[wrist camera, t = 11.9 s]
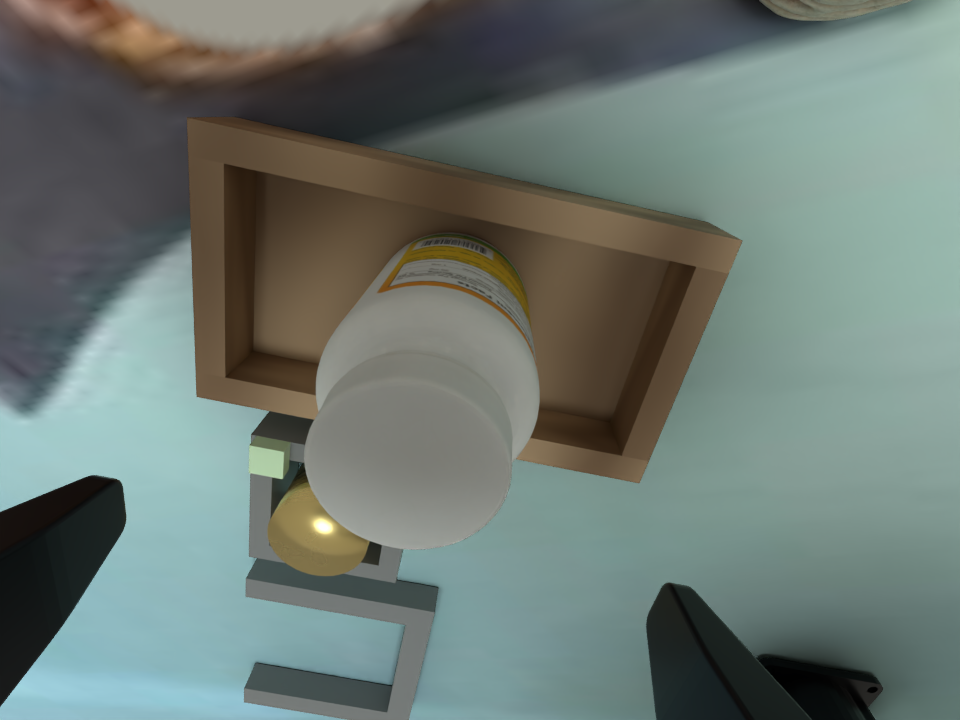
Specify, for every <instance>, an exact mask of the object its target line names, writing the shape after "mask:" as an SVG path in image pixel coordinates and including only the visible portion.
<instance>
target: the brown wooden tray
mask: <svg viewBox="0 0 960 720" xmlns="http://www.w3.org/2000/svg"><path fill="white" fill-rule="evenodd" d="M187 134H188V163H189V191H190V220H191V249H192V278H193V307H194V335H195V364H196V393H197V397H200V398H206V399H211V400H216V401H221V402H226V403H231V404H236V405H241V406H247V407H252V408H257V409H262V410H267V411H272V412H277V413H282V414H287V415H293V416H298V417H303V418H308V419H313V420H315V418H316V416H317V414H318V412H319V411H318V406H317V401H316V376H317V370H318V366H319V362H320V359H321V356H322V354H323V351H324V349H325V347H326V345H327V343H328V341H329V339H330V337H331V336H332V334H333V333H334V331H335V329H336V328H337V327H338V325H339V324H340V322H341V321H342V320H343V319H344V317H345V316H346V315H347V313H348V312H349V311H350V310H351V308H352V307H353V306H354V305H355V303H356V302H357V301H358V300H359V298H360V297H361V296H362V295H363V293H364V292H365V291H366V290H367V288H368V287H369V286H370V284H371V283H372V282H373V281H374V279H375V278H376V277H377V275H378V274H379V273H380V272H381V270H382V269H383V268H384V266H385V265H386V264H387V263H388V262H389V260H390V259H391V258H392V257H393V256H394V255H395V254H396V253H397V252H398V251H399V250H401V249H402V248H403V247H404V246H406V245H407V244H409V243H411V242H413V241H414V240H416V239H419V238H421V237H424V236H427V235H431V234H436V233H446V232H454V233H462V234H467V235H471V236H474V237H477V238H479V239H481V240H484V241H486V242H487V243H489V244H491V245H493V246H494V247H496V248H497V249H498V250H500V251H501V252H502V253H503V254H504V255H505V256H506V257H507V258H508V259H509V260H510V261H511V262H512V264H513V265H514V267H515V268H516V270H517V272H518V273H519V275H520V277H521V280H522V282H523V285H524V288H525V291H526V295H527V299H528V306H529V313H530V321H531V329H532V336H533V343H534V349H535V356H536V363H537V368H538V378H539V391H540V403H539V411H538V417H537V421H536V424H535V427H534V430H533V433H532V435H531V437H530V439H529V441H528V442H527V444H526V446H525V447H524V449H523V450H522V452H521V453H520V454H519V456H518V457H517V458H516V459H518V460H523V461H528V462H533V463H538V464H543V465H548V466H553V467H559V468H564V469H569V470H574V471H579V472H584V473H589V474H594V475H599V476H605V477H610V478H615V479H620V480H625V481H630V482H635V483H640V481H641V478H642V476H643V474H644V471H645V469H646V466H647V464H648V462H649V459H650V457H651V455H652V452H653V450H654V448H655V445H656V443H657V441H658V438H659V436H660V434H661V431H662V429H663V427H664V424H665V422H666V419H667V417H668V415H669V412H670V410H671V408H672V405H673V403H674V401H675V398H676V396H677V394H678V391H679V389H680V387H681V384H682V382H683V379H684V377H685V375H686V372H687V370H688V368H689V365H690V363H691V361H692V358H693V356H694V354H695V351H696V349H697V347H698V344H699V342H700V340H701V337H702V335H703V332H704V330H705V328H706V325H707V323H708V321H709V318H710V316H711V314H712V311H713V309H714V307H715V304H716V302H717V300H718V297H719V295H720V293H721V290H722V288H723V285H724V283H725V281H726V278H727V276H728V274H729V271H730V269H731V267H732V264H733V262H734V260H735V257H736V255H737V253H738V250H739V248H740V246H741V243H742V240H740V239H738V238H736V237H734V236H733V235H731V234H729V233H727V232H725V231H723V230H721V229H719V228H718V227H716V226H714V225H712V224H710V223H708V222H704V221H699V220H695V219H690V218H686V217H681V216H677V215H672V214H668V213H663V212H659V211H654V210H650V209H645V208H641V207H636V206H632V205H627V204H623V203H618V202H614V201H609V200H605V199H600V198H596V197H591V196H587V195H582V194H578V193H573V192H569V191H564V190H560V189H556V188H551V187H547V186H542V185H538V184H533V183H529V182H524V181H520V180H515V179H511V178H506V177H502V176H497V175H493V174H488V173H484V172H479V171H475V170H470V169H466V168H461V167H457V166H452V165H448V164H443V163H439V162H434V161H430V160H425V159H421V158H416V157H412V156H407V155H403V154H399V153H394V152H390V151H385V150H381V149H376V148H372V147H367V146H363V145H358V144H354V143H349V142H345V141H340V140H336V139H331V138H327V137H322V136H318V135H313V134H309V133H304V132H300V131H295V130H291V129H286V128H282V127H277V126H273V125H268V124H264V123H259V122H255V121H250V120H246V119H242V118H237V117H191V118H187Z"/></svg>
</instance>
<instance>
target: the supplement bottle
mask: <svg viewBox="0 0 960 720" xmlns="http://www.w3.org/2000/svg"><path fill="white" fill-rule="evenodd" d="M316 401H317V406H318V411H319V412H318V414H317V416H316V418H315V420H314V421H313V423H312V425H311V427H310V429H309V433H308V436H307V440H306V443H305V450H304V463H305V470H306V475H307V478H308V481H309V484H310V487H311V489H312V491H313V493H314V495H315V496H316V498H317V500H318V501H319V503H320V504H321V505H322V507H323V508H324V509H325V510H326V512H327V513H328V514H329V515H330V516H331V517H332V518H333V519H334V520H335V521H337V522H338V523H339V524H340V525H342V526H343V527H345V528H346V529H347V530H349V531H350V532H352V533H354V534H356V535H358V536H359V537H362V538H364V539H366V540H369V541H371V542H374V543H377V544H380V545H384V546H388V547H393V548H399V549H411V550H418V549H430V548H438V547H443V546H447V545H451V544H454V543H456V542H459V541H461V540H464V539H466V538H468V537H469V536H471V535H473V534H474V533H476V532H477V531H479V530H480V529H481V528H483V527H484V526H485V525H486V524H487V523H488V522H489V521H490V520H491V519H492V518H493V517H494V516H495V515H496V513H497V512H498V511H499V509H500V508H501V506H502V504H503V502H504V500H505V498H506V496H507V493H508V490H509V487H510V482H511V475H512V462H513V461H514V460H515V459H516V458H517V457H518V456H519V454H520V453H521V452H522V450H523V449H524V447H525V446H526V444H527V442H528V441H529V439H530V437H531V435H532V433H533V430H534V427H535V424H536V421H537V417H538V411H539V403H540V391H539V378H538V368H537V363H536V356H535V349H534V343H533V336H532V329H531V321H530V313H529V306H528V299H527V295H526V291H525V288H524V285H523V282H522V280H521V277H520V275H519V273H518V272H517V270H516V268H515V267H514V265H513V264H512V262H511V261H510V260H509V259H508V258H507V257H506V256H505V255H504V254H503V253H502V252H501V251H500V250H498V249H497V248H496V247H494V246H493V245H491V244H489V243H487V242H486V241H484V240H481V239H479V238H477V237H474V236H471V235H467V234H462V233H454V232H446V233H436V234H431V235H427V236H424V237H421V238H419V239H416V240H414V241H413V242H411V243H409V244H407V245H406V246H404V247H403V248H402V249H401V250H399V251H398V252H397V253H396V254H395V255H394V256H393V257H392V258H391V259H390V260H389V262H388V263H387V264H386V265H385V266H384V268H383V269H382V270H381V272H380V273H379V274H378V275H377V277H376V278H375V279H374V281H373V282H372V283H371V284H370V286H369V287H368V288H367V290H366V291H365V292H364V293H363V295H362V296H361V297H360V298H359V300H358V301H357V302H356V303H355V305H354V306H353V307H352V308H351V310H350V311H349V312H348V313H347V315H346V316H345V317H344V319H343V320H342V321H341V322H340V324H339V325H338V327H337V328H336V329H335V331H334V333H333V334H332V336H331V337H330V339H329V341H328V343H327V345H326V347H325V349H324V351H323V354H322V356H321V359H320V362H319V366H318V370H317V376H316Z"/></svg>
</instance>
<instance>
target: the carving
mask: <svg viewBox="0 0 960 720" xmlns="http://www.w3.org/2000/svg"><path fill="white" fill-rule="evenodd" d="M759 1H760V2H761V3H763V4H764V5H765V6H766V7H767V8H769V9H770V10H772V11H773V12H774V13H776V14H778V15H780V16H782V17H786V18H789V19H795V20H804V21H830V20H838V19H845V18H851V17H856V16H860V15H864V14H867V13H870V12H874V11H877V10H880V9H884V8H888V7H892V6H897V5H900V4H904V3H907V2H910V1H912V0H759Z"/></svg>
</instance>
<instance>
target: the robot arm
mask: <svg viewBox="0 0 960 720" xmlns="http://www.w3.org/2000/svg"><path fill="white" fill-rule="evenodd" d="M125 524H126V510H125V501H124V493H123V486H122V483H121V482H120V481H119V480H117V479H114V478H109V477H104V476H98V475H91V476H88V477H85V478H82V479H80V480H77V481H75V482H73V483H70V484H68V485H65V486H63V487H60V488H58V489H55V490H53V491H51V492H48V493H46V494H43V495H41V496H38V497H36V498H33V499H31V500H28V501H26V502H24V503H21V504H19V505H16V506H14V507H11V508H9V509H6V510H4V511H2V512H0V706H1V705H2V704H3V703H4V701H5V700H6V699H7V697H8V696H9V695H10V693H11V692H12V691H13V690H14V688H15V687H16V686H17V684H18V683H19V682H20V681H21V679H22V678H23V677H24V675H25V674H26V673H27V671H28V670H29V669H30V668H31V666H32V665H33V664H34V662H35V661H36V660H37V659H38V657H39V656H40V655H41V653H42V652H43V651H44V650H45V648H46V647H47V646H48V644H49V643H50V642H51V640H52V639H53V638H54V636H55V635H56V634H57V632H58V631H59V630H60V628H61V627H62V626H63V624H64V623H65V621H66V620H67V618H68V617H69V615H70V614H71V612H72V611H73V609H74V608H75V606H76V605H77V603H78V602H79V600H80V598H81V597H82V595H83V594H84V592H85V591H86V589H87V587H88V586H89V584H90V583H91V581H92V579H93V578H94V576H95V575H96V573H97V572H98V570H99V568H100V567H101V565H102V564H103V562H104V561H105V559H106V557H107V556H108V554H109V553H110V551H111V549H112V548H113V546H114V545H115V543H116V542H117V540H118V538H119V537H120V535H121V533H122V532H123V529H124V527H125ZM646 630H647V640H648V649H649V658H650V667H651V676H652V685H653V695H654V704H655V712H656V720H875V718H874V717H873V715H872V713H871V712H870V710H869V708H868V707H869V706H870V705H871V703H872V702H873V701H874V700H875V699H876V698H877V696H878V695H879V694H880V693H881V692H882V690H883V687H882V685H881V684H880V682H879V681H878V679H877V678H876V677H873V676H869V675H863V674H858V673H852V672H846V671H841V670H835V669H830V668H824V667H819V666H813V665H808V664H802V663H797V662H791V661H786V660H780V659H774V658H763V659H761V660H759V661H758V660H757V659H756V658H755V657H754V656H753V654H752V653H751V652H750V651H749V650H748V649H747V648H746V647H745V646H744V645H743V643H742V642H741V641H740V640H739V639H738V638H737V637H736V636H735V635H734V634H733V632H732V631H731V630H730V629H729V628H728V627H727V626H726V625H725V624H724V623H723V621H722V620H721V619H720V618H719V617H718V616H717V615H716V614H715V613H714V612H713V610H712V609H711V608H710V607H709V606H708V605H707V604H706V603H705V602H704V601H703V599H702V598H701V597H700V596H699V595H698V594H697V593H696V592H695V591H694V590H693V589H692V588H691V587H689V586H685V585H680V584H675V583H666V584H664V585H663V586H662V588H661V590H660V592H659V593H658V595H657V597H656V599H655V601H654V603H653V605H652V607H651V609H650V611H649V614H648V617H647V622H646Z"/></svg>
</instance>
